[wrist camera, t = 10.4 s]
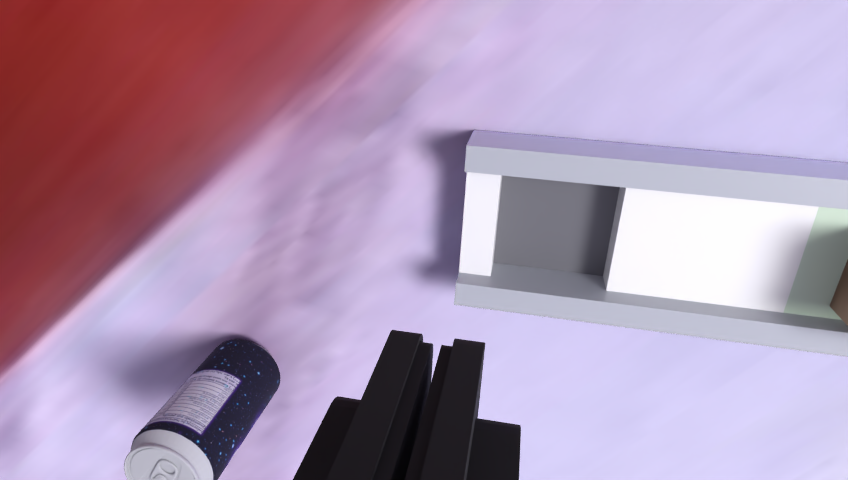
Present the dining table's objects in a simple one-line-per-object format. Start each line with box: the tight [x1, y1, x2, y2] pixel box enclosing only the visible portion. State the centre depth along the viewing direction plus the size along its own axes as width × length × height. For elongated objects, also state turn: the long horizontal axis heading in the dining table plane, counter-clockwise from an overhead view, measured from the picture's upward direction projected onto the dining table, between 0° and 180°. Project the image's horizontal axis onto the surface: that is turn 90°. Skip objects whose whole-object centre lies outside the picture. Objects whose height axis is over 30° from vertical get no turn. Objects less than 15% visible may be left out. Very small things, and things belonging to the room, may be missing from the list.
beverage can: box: [124, 340, 280, 480], centre depth 41 cm, size 6×6×12 cm
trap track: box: [454, 130, 848, 357], centre depth 33 cm, size 10×35×4 cm, turn 87°
